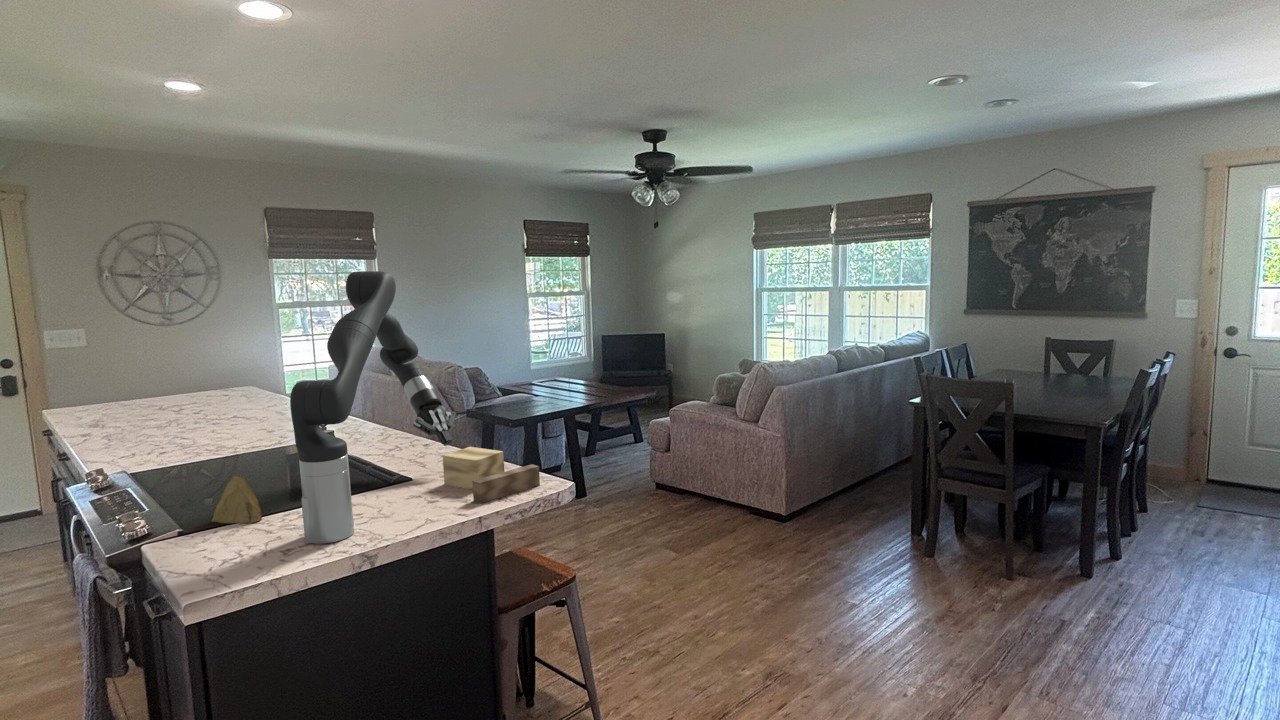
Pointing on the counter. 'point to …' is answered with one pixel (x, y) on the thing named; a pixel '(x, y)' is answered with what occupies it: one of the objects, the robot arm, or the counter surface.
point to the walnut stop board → (505, 483)
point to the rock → (237, 504)
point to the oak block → (471, 466)
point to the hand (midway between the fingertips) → (448, 443)
